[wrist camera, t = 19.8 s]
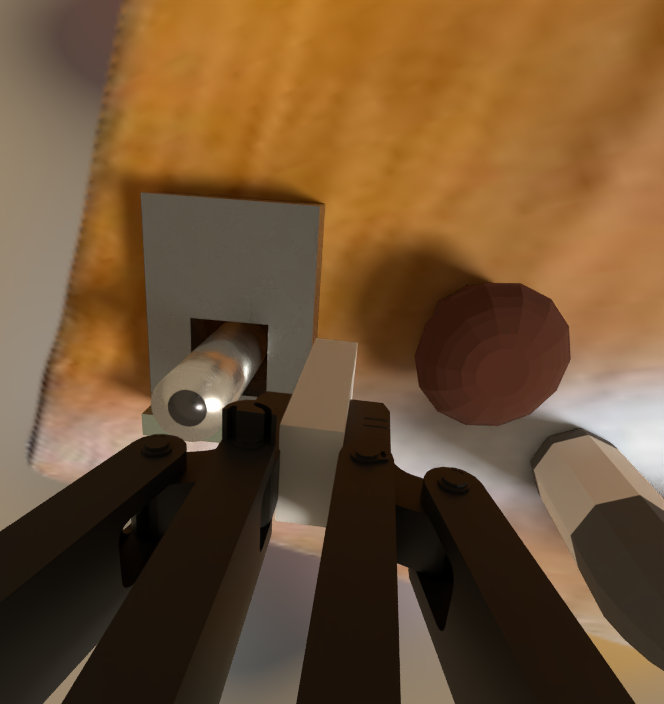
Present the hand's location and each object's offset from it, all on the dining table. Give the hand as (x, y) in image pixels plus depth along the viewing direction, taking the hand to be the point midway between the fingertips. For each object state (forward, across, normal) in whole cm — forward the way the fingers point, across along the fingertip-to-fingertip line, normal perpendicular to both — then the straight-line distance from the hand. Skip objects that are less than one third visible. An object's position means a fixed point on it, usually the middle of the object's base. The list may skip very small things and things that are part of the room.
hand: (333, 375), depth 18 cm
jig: (+26, -10, -6) cm, 29 cm away
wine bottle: (+27, +22, -18) cm, 38 cm away
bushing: (+26, -10, -9) cm, 29 cm away
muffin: (+27, +10, -6) cm, 29 cm away
